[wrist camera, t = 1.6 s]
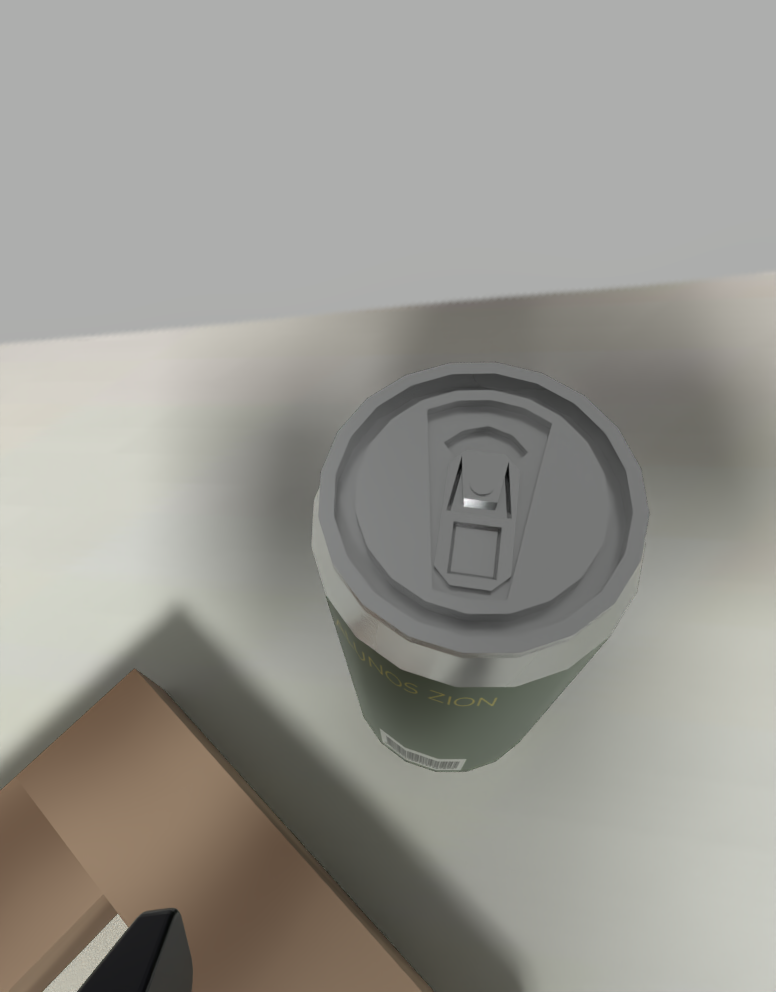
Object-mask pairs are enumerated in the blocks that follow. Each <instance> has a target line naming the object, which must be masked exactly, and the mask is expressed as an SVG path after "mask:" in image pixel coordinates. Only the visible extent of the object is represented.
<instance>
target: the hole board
mask: <svg viewBox="0 0 776 992" xmlns="http://www.w3.org/2000/svg"><path fill="white" fill-rule="evenodd" d="M164 908H176V909H178V911H179V912H180V914H181V917H182V920H183V924H184V928H185V933H186V937H187V941H188V945H189V949H190V953H191V957H192V964H193V983H192V992H434V991H433V990H432V989H431V987H430V986H429V985H428V984H427V983H426V982H425V981H424V980H423V979H422V977H421V976H420V975H419V974H418V973H417V972H416V971H415V970H414V969H413V967H412V966H411V965H410V964H409V963H408V962H407V961H406V960H405V958H404V957H403V956H402V955H401V954H400V953H399V952H398V951H397V950H396V948H395V947H394V946H393V945H392V944H391V943H390V942H389V941H388V939H387V938H386V937H385V936H384V935H383V934H382V933H381V932H380V931H379V929H378V928H377V927H376V926H375V925H374V924H373V923H372V922H371V921H370V919H369V918H368V917H367V916H366V915H365V914H364V913H363V912H362V910H361V909H360V908H359V907H358V906H357V905H356V904H355V903H354V902H353V900H352V899H351V898H350V897H349V896H348V895H347V894H346V893H345V892H344V890H343V889H342V888H341V887H340V886H339V885H338V884H337V883H336V881H335V880H334V879H333V878H332V877H331V876H330V875H329V874H328V873H327V871H326V870H325V869H324V868H323V867H322V866H321V865H320V864H319V862H318V861H317V860H316V859H315V858H314V857H313V856H312V855H311V854H310V852H309V851H308V850H307V849H306V848H305V847H304V846H303V845H302V844H301V842H300V841H299V840H298V839H297V838H296V837H295V836H294V835H293V833H292V832H291V831H290V830H289V829H288V828H287V827H286V826H285V825H284V823H283V822H282V821H281V820H280V819H279V818H278V817H277V816H276V814H275V813H274V812H273V811H272V810H271V809H270V808H269V807H268V806H267V804H266V803H265V802H264V801H263V800H262V799H261V798H260V797H259V796H258V794H257V793H256V792H255V791H254V790H253V789H252V788H251V787H250V785H249V784H248V783H247V782H246V781H245V780H244V779H243V778H242V777H241V775H240V774H239V773H238V772H237V771H236V770H235V769H234V768H233V767H232V765H231V764H230V763H229V762H228V761H227V760H226V759H225V758H224V756H223V755H222V754H221V753H220V752H219V751H218V750H217V749H216V748H215V746H214V745H213V744H212V743H211V742H210V741H209V740H208V739H207V737H206V736H205V735H204V734H203V733H202V732H201V731H200V730H199V729H198V727H197V726H196V725H195V724H194V723H193V722H192V721H191V720H190V719H189V717H188V716H187V715H186V714H185V713H184V712H183V711H182V710H181V708H180V707H179V706H178V705H177V704H176V703H175V702H174V701H173V700H172V698H171V697H170V696H169V695H168V694H167V693H166V692H165V691H164V690H163V689H162V688H161V687H160V686H158V685H157V684H155V683H154V682H153V681H151V680H150V679H149V678H147V677H146V676H144V675H143V674H142V673H140V672H139V671H137V670H136V669H135V668H134V669H133V670H132V671H131V672H130V673H129V674H128V675H127V676H126V677H124V678H123V679H122V680H121V681H120V682H119V683H118V684H117V685H116V686H115V687H113V688H112V689H111V690H110V691H109V692H108V693H107V694H106V695H105V696H104V697H102V698H101V699H100V700H99V701H98V702H97V703H96V704H95V705H94V706H93V707H92V708H90V709H89V710H88V711H87V712H86V713H85V714H84V715H83V716H82V717H81V718H79V719H78V720H77V721H76V722H75V723H74V724H73V725H72V726H71V727H70V728H68V729H67V730H66V731H65V732H64V733H63V734H62V735H61V736H60V737H59V738H57V739H56V740H55V741H54V742H53V743H52V744H51V745H50V746H49V747H48V748H46V749H45V750H44V751H43V752H42V753H41V754H40V755H39V756H38V757H37V758H36V759H34V760H33V761H32V762H31V763H30V764H29V765H28V766H27V767H26V768H25V769H23V770H22V771H21V772H20V773H19V774H18V775H17V776H16V777H15V778H14V779H12V780H11V781H10V782H9V783H8V784H7V785H6V786H5V787H4V788H3V789H1V790H0V992H43V990H44V989H45V988H46V987H47V986H48V985H49V984H50V983H51V982H52V981H53V980H54V979H55V978H56V977H57V976H58V975H59V974H60V973H61V972H62V971H63V970H64V969H65V968H66V967H67V966H68V965H69V964H70V962H71V961H72V960H73V959H74V958H75V957H76V956H77V955H78V954H79V953H80V952H81V951H82V950H83V949H84V948H85V947H86V946H87V945H88V944H89V943H90V942H91V941H92V940H93V939H94V938H95V937H96V936H97V934H98V933H99V932H100V931H101V930H102V929H103V928H104V927H105V926H106V925H107V924H108V923H109V922H110V921H111V920H112V919H113V918H114V917H115V916H116V915H117V914H119V915H120V917H121V918H122V919H123V921H124V922H125V923H126V925H127V926H128V927H130V925H131V924H132V923H133V922H134V920H135V919H136V918H137V917H138V916H139V915H140V914H141V913H143V912H145V911H149V910H156V909H164Z"/></svg>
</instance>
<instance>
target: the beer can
mask: <svg viewBox="0 0 776 992" xmlns="http://www.w3.org/2000/svg"><path fill="white" fill-rule="evenodd" d="M648 519H649V509H648V503H647V498H646V493H645V487H644V482H643V476H642V471H641V467H640V466H639V464H638V462H637V460H636V459H635V457H634V455H633V453H632V451H631V450H630V448H629V446H628V444H627V443H626V441H625V439H624V437H623V435H622V434H621V432H620V430H619V428H618V427H617V426H616V425H615V424H614V423H613V422H612V421H611V420H610V419H608V418H607V417H606V416H605V415H604V414H603V413H602V412H601V411H600V410H599V409H598V408H597V407H596V406H595V405H594V404H593V403H592V402H591V401H590V400H588V399H587V398H586V397H585V396H584V395H583V394H581V393H579V392H577V391H575V390H573V389H571V388H569V387H567V386H566V385H564V384H562V383H560V382H558V381H556V380H554V379H552V378H551V377H549V376H547V375H545V374H543V373H540V372H536V371H531V370H527V369H523V368H519V367H515V366H511V365H506V364H502V363H498V362H471V363H447V364H444V365H440V366H436V367H433V368H429V369H426V370H422V371H418V372H415V373H411V374H408V375H405V376H403V377H402V378H400V379H398V380H397V381H395V382H393V383H392V384H390V385H388V386H387V387H385V388H383V389H382V390H380V391H378V392H377V393H375V394H374V395H372V396H370V397H369V398H367V399H366V400H365V401H364V402H363V404H362V405H361V406H360V407H359V408H358V409H357V410H356V411H355V413H354V414H353V415H352V416H351V417H350V418H349V419H348V420H347V422H346V423H345V424H344V425H343V426H342V427H341V428H340V429H339V431H338V432H337V434H336V437H335V439H334V442H333V444H332V446H331V449H330V451H329V453H328V456H327V458H326V460H325V463H324V465H323V468H322V470H321V474H320V487H319V489H318V491H317V494H316V496H315V499H314V506H313V524H312V541H311V548H312V551H313V555H314V558H315V561H316V565H317V568H318V572H319V575H320V578H321V582H322V585H323V588H324V592H325V595H326V598H327V602H328V605H329V608H330V611H331V614H332V617H333V621H334V624H335V627H336V630H337V633H338V637H339V640H340V643H341V646H342V649H343V653H344V656H345V659H346V662H347V665H348V668H349V672H350V675H351V678H352V681H353V684H354V688H355V691H356V694H357V697H358V700H359V703H360V707H361V710H362V713H363V716H364V718H365V720H366V721H367V723H368V724H369V726H370V727H371V729H372V730H373V731H374V733H375V734H376V736H377V737H378V739H379V740H380V742H381V743H382V744H384V745H385V746H386V747H388V748H389V749H390V750H391V751H393V752H394V753H395V754H397V755H398V756H399V757H401V758H402V759H403V760H405V761H406V762H409V763H412V764H415V765H418V766H420V767H423V768H426V769H429V770H432V771H435V772H467V771H470V770H473V769H475V768H478V767H481V766H484V765H487V764H490V763H493V762H495V761H497V760H498V759H499V758H500V757H502V756H503V755H504V754H505V753H507V752H508V751H509V750H510V749H512V748H513V747H514V746H515V745H516V744H518V743H519V742H520V741H521V740H522V738H523V737H524V736H525V735H526V734H527V733H528V731H529V730H530V729H531V728H532V727H533V726H534V724H535V723H536V722H537V721H538V720H539V719H540V717H541V716H542V715H543V714H544V713H545V712H546V710H547V709H548V708H549V707H550V706H551V705H552V703H553V702H554V701H555V700H556V699H557V698H558V696H559V695H560V694H561V693H562V692H563V691H564V689H565V688H566V687H567V686H568V685H569V684H570V682H571V681H572V680H573V679H574V678H575V677H576V675H577V674H578V673H579V672H580V671H581V670H582V668H583V667H584V666H585V665H586V664H587V663H588V661H589V660H590V659H591V658H592V657H593V656H594V654H595V653H596V652H597V651H598V650H599V649H600V647H601V646H602V645H603V644H604V643H605V642H606V640H607V639H608V638H609V637H610V636H611V634H612V632H613V631H614V629H615V628H616V626H617V624H618V623H619V621H620V619H621V618H622V616H623V614H624V613H625V611H626V609H627V608H628V606H629V604H630V603H631V601H632V599H633V598H634V596H635V594H636V593H637V589H638V583H639V578H640V572H641V567H642V561H643V555H644V550H645V536H646V530H647V525H648Z"/></svg>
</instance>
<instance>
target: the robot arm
mask: <svg viewBox="0 0 776 992" xmlns="http://www.w3.org/2000/svg"><path fill="white" fill-rule="evenodd" d="M192 983H193V964H192V957H191V953H190V949H189V945H188V941H187V937H186V933H185V928H184V924H183V920H182V917H181V914H180V912H179V911H178V909H176V908H164V909H156V910H149V911H145V912H143V913H141V914H140V915H139V916H138V917H137V918H136V919H135V920H134V922H133V923H132V924H131V925H130V927H129V928H128V929H127V930H126V931H125V933H124V934H123V935H122V936H121V938H120V939H119V940H118V941H117V943H116V944H115V945H114V946H113V948H112V949H111V950H110V951H109V953H108V954H107V955H106V956H105V958H104V959H103V960H102V961H101V962H100V964H99V965H98V966H97V967H96V969H95V970H94V971H93V972H92V974H91V975H90V976H89V977H88V979H87V980H86V981H85V982H84V984H83V985H82V986H81V987H80V988H79V990H78V991H77V992H192Z"/></svg>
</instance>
